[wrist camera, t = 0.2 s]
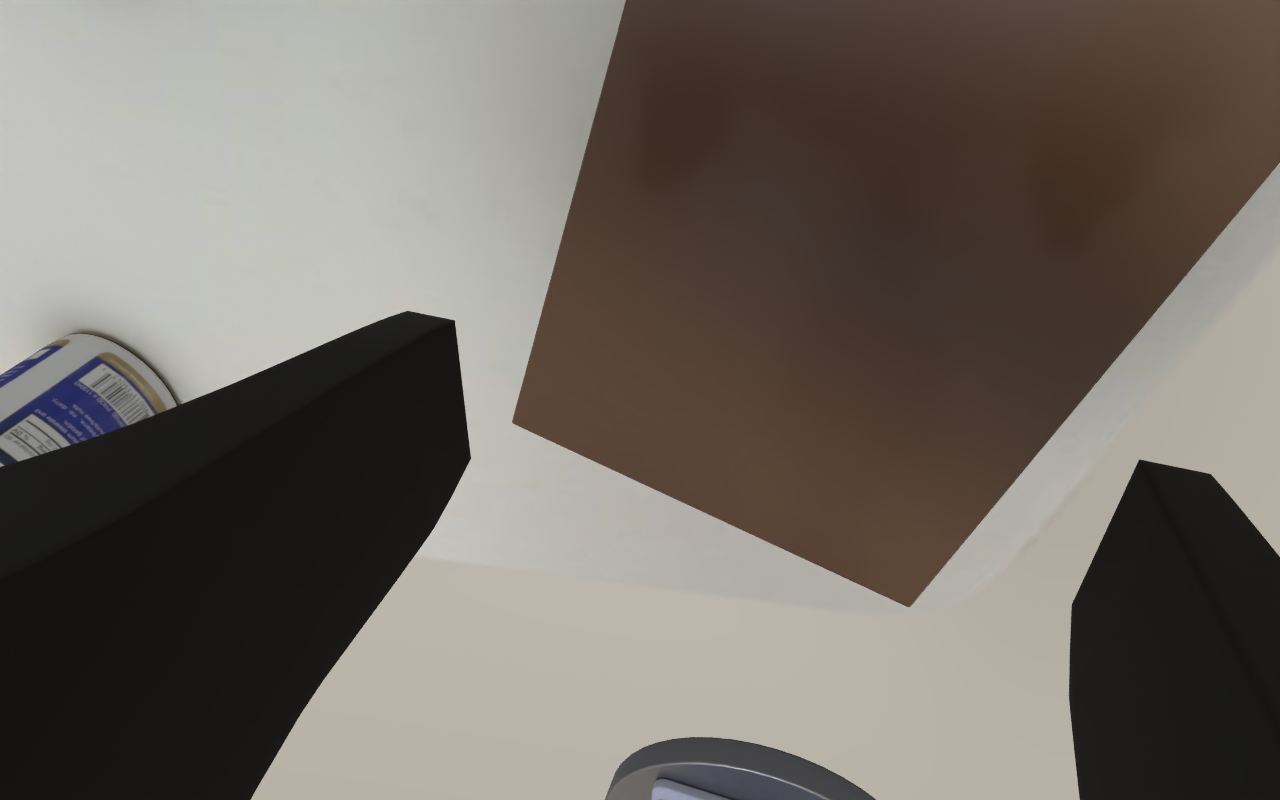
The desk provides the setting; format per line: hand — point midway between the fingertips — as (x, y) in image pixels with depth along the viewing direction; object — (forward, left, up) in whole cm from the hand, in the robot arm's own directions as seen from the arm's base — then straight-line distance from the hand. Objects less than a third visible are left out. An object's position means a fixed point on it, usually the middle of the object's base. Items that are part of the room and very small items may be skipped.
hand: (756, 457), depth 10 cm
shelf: (+1, 0, -11) cm, 11 cm away
